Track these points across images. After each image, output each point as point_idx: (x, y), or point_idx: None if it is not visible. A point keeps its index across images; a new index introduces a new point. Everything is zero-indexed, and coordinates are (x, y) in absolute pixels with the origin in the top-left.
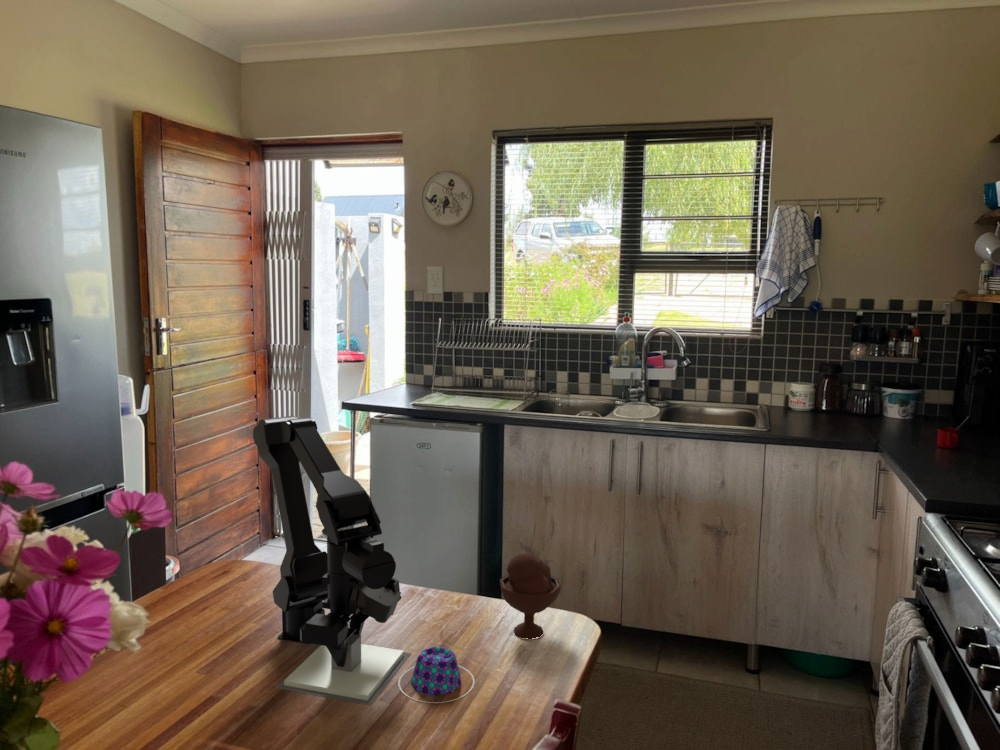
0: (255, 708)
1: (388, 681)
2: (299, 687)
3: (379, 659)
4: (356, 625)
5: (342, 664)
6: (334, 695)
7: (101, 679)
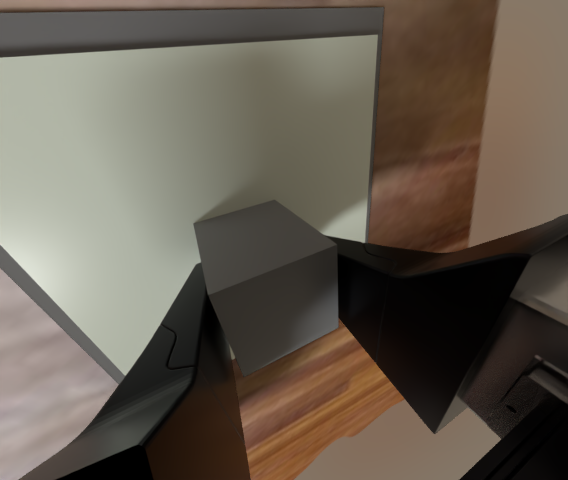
0: None
1: (221, 16)
2: None
3: (116, 164)
4: (207, 384)
5: None
6: None
7: (380, 409)
